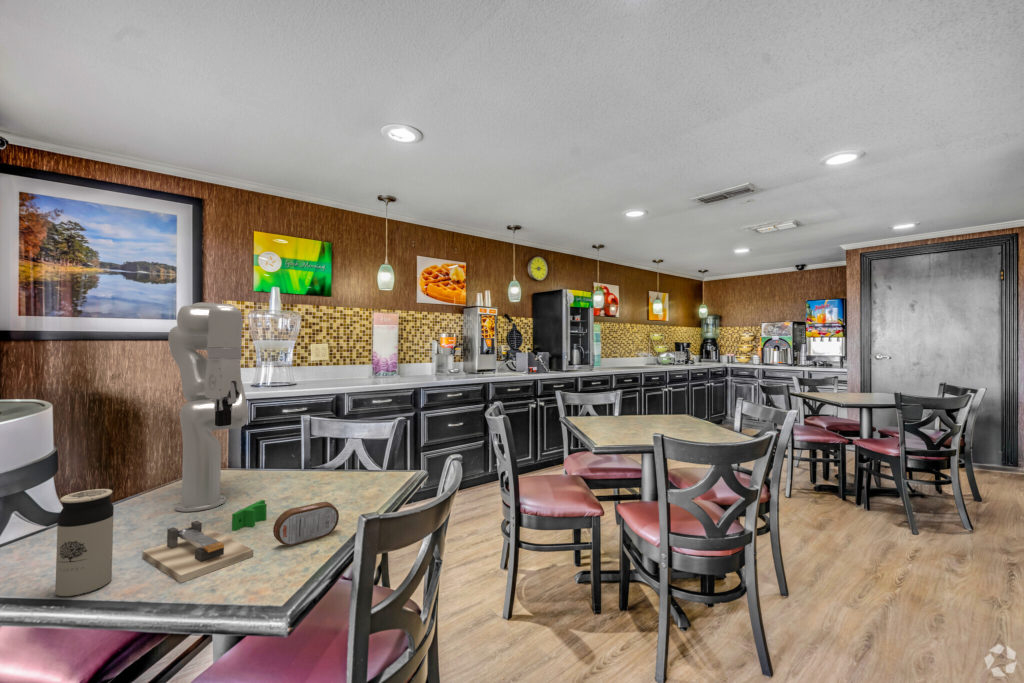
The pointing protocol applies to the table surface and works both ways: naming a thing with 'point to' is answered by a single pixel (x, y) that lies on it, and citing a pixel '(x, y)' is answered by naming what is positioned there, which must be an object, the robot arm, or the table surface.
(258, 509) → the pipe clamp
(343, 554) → the table surface
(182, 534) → the hinged lever
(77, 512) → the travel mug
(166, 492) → the table surface
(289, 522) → the tin
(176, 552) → the base plate
